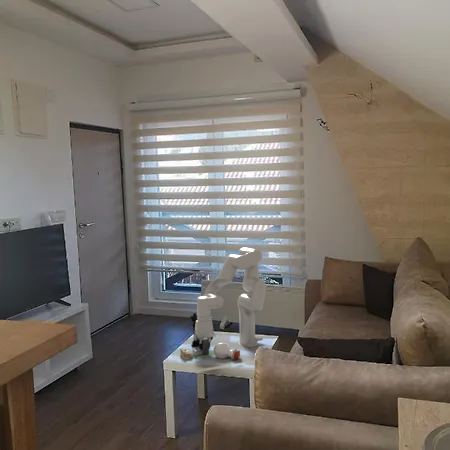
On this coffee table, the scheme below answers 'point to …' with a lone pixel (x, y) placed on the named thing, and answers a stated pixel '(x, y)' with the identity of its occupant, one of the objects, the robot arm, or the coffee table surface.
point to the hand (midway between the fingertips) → (204, 348)
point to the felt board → (204, 355)
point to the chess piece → (194, 318)
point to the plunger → (204, 347)
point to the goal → (185, 354)
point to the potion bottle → (225, 351)
